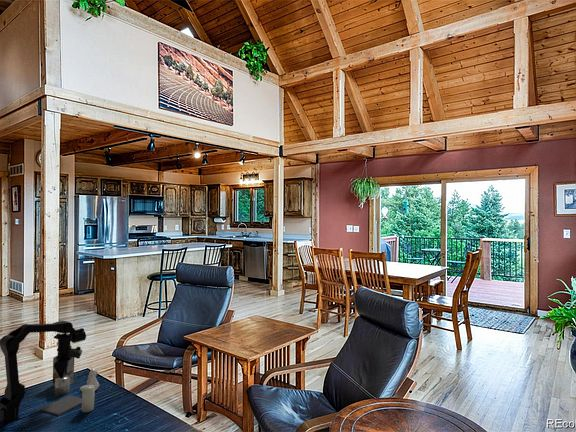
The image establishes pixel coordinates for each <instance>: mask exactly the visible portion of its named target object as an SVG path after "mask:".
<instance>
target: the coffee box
mask: <svg viewBox="0 0 576 432" xmlns="http://www.w3.org/2000/svg"><path fill="white" fill-rule="evenodd" d="M56 360H59V359H57V355H55V357H53V358H52V387H53V386H54V387H55V379H56V378H57V377H59V375H58V373H57V371H56V370H55V368H54V363H55V361H56ZM64 375H68V376H70V385H71V384H73V383H74V382H75V381H74V379H75V377H74V376H75V358H74V357H72V358H71V359H70V360H69V365H68V367H67V368H66V372H64ZM64 375H63V376H64Z"/></svg>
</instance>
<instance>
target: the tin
mask: <svg viewBox="0 0 576 432" xmlns="http://www.w3.org/2000/svg"><path fill="white" fill-rule="evenodd" d="M70 390H71V384H70V376H68V375H64V376H63V378H61V379H60V377H57V378H56V379H55V386H54V395H55V396H64V395H67V394H69V393H70Z"/></svg>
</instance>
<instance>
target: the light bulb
mask: <svg viewBox="0 0 576 432" xmlns="http://www.w3.org/2000/svg"><path fill="white" fill-rule="evenodd" d="M86 385H87V384H86ZM83 386H84V387H83V388H82V391H81V398H82V404H81V412H83V413H90V412H92V411H94V409H95V391H96V390H95V386H94V385H87V386H85V385H83Z"/></svg>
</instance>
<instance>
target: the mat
mask: <svg viewBox="0 0 576 432" xmlns="http://www.w3.org/2000/svg"><path fill="white" fill-rule="evenodd" d="M79 406H82V397H78V396H74V395H72V394H71V395H68V396H67V395H66V396H65V397H64V398H61V399H59V400H57V401H55V402H53V403H50V404H48V405H46V406H43V407H40V411H41V412H44V413H47V414H52V415H55V416H58V417H59V416H61V415H63V414H65V413H67V412H70V411H72V410H73V409H75V408H77V407H79Z"/></svg>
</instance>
